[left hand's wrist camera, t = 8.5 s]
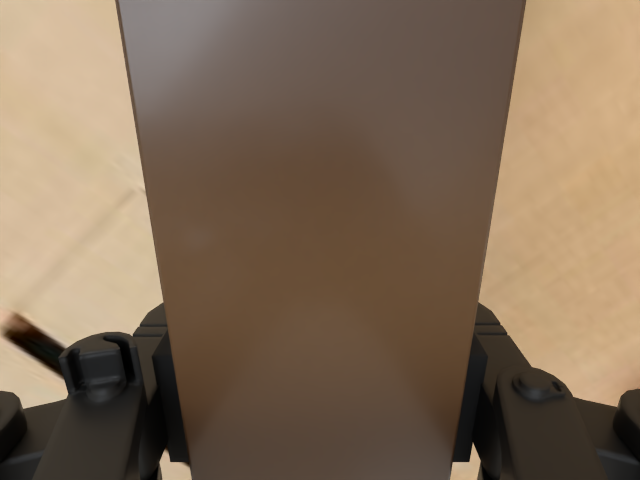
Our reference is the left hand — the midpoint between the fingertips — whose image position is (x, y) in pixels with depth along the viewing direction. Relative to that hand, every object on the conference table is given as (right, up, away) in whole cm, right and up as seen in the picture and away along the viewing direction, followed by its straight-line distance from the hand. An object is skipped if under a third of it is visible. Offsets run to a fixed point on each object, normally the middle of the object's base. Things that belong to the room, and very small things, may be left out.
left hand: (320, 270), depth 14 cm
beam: (0, +16, -6) cm, 17 cm away
